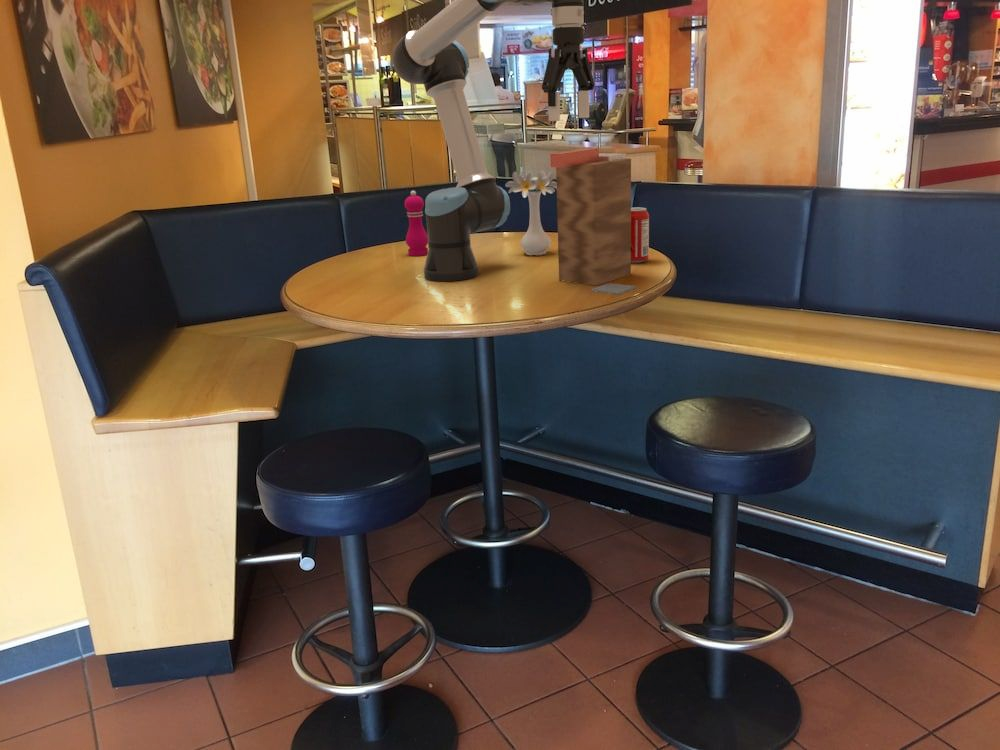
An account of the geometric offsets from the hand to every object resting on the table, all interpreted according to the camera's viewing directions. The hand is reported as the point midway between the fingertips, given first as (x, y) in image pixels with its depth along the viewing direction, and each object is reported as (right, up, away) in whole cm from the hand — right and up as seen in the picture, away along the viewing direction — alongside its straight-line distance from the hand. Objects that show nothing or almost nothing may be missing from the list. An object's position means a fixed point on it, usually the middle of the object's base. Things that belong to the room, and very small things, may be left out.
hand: (569, 119), depth 206 cm
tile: (+11, -43, 0) cm, 44 cm away
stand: (+8, -37, +15) cm, 41 cm away
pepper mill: (-43, -25, +59) cm, 77 cm away
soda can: (+21, -31, +31) cm, 49 cm away
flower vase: (-5, -26, +50) cm, 57 cm away
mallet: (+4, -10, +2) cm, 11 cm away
